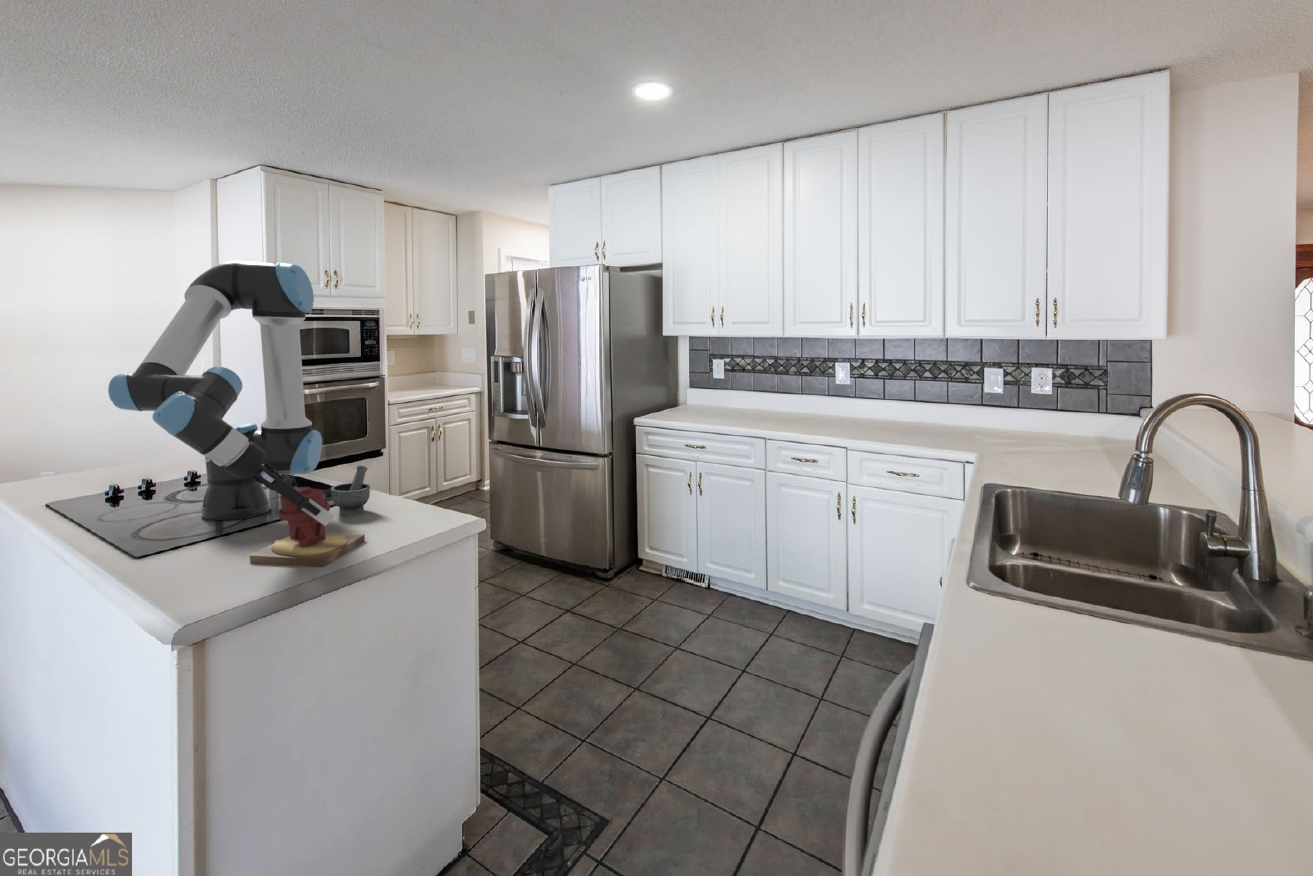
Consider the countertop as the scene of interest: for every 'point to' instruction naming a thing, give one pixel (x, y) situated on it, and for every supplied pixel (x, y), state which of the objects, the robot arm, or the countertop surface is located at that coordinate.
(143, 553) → the countertop surface
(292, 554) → the marked board
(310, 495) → the mechanical component
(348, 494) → the mortar and pestle
